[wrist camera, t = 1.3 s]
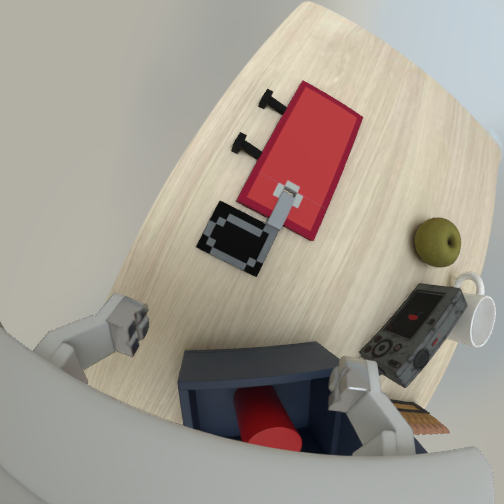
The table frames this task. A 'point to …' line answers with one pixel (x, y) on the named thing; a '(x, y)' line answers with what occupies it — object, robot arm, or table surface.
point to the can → (265, 419)
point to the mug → (474, 315)
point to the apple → (438, 242)
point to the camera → (415, 332)
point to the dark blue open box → (261, 374)
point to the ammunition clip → (419, 418)
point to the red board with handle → (285, 178)
